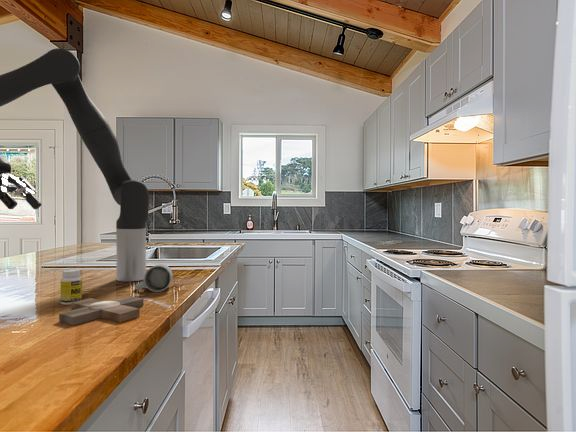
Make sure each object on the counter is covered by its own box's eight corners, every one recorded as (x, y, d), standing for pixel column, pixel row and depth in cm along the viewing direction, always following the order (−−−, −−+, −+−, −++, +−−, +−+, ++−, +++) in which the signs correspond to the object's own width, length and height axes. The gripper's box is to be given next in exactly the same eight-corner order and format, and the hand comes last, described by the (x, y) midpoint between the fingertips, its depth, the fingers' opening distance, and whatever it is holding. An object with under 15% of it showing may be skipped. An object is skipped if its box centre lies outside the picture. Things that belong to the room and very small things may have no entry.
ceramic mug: (173, 285, 118) (173, 261, 118) (171, 291, 110) (170, 265, 110) (137, 287, 116) (137, 262, 115) (132, 293, 108) (132, 267, 107)
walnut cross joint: (42, 317, 84) (42, 308, 84) (114, 299, 100) (114, 292, 100) (91, 331, 76) (91, 321, 76) (161, 309, 91) (161, 301, 91)
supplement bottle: (72, 305, 94) (71, 272, 94) (56, 304, 95) (55, 271, 95) (86, 300, 99) (85, 269, 98) (70, 299, 100) (70, 268, 99)
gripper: (-30, 145, 89) (16, 196, 89) (16, 154, 103) (55, 198, 103) (-52, 167, 89) (-7, 217, 89) (-3, 173, 104) (36, 216, 103)
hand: (26, 207), depth 96 cm, fingers open, 8 cm apart
